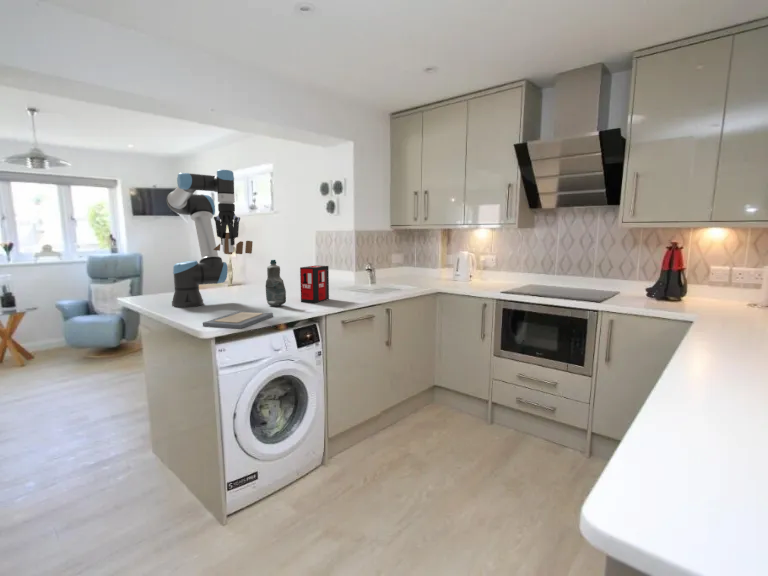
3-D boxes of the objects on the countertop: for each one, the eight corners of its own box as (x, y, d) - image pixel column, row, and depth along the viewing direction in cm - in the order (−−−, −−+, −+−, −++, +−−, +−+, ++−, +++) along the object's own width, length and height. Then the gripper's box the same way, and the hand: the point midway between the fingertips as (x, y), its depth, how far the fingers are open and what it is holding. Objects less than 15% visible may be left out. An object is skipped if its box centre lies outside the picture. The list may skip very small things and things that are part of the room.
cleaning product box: (314, 303, 224) (313, 267, 221) (301, 302, 227) (300, 267, 224) (329, 299, 239) (328, 265, 236) (316, 298, 242) (315, 265, 240)
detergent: (289, 305, 216) (288, 259, 213) (281, 308, 210) (279, 260, 206) (270, 304, 221) (268, 259, 218) (261, 306, 215) (259, 259, 211)
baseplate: (202, 326, 167) (202, 321, 167) (239, 314, 192) (239, 310, 192) (240, 328, 163) (240, 324, 163) (273, 316, 188) (272, 312, 188)
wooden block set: (250, 257, 206) (252, 237, 206) (252, 255, 198) (253, 235, 198) (213, 253, 199) (214, 233, 200) (212, 252, 191) (214, 230, 192)
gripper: (207, 202, 190) (209, 251, 194) (236, 202, 187) (237, 253, 190) (217, 203, 198) (219, 250, 201) (245, 203, 194) (246, 252, 197)
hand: (228, 251), depth 196 cm, fingers closed on wooden block set, 3 cm apart
